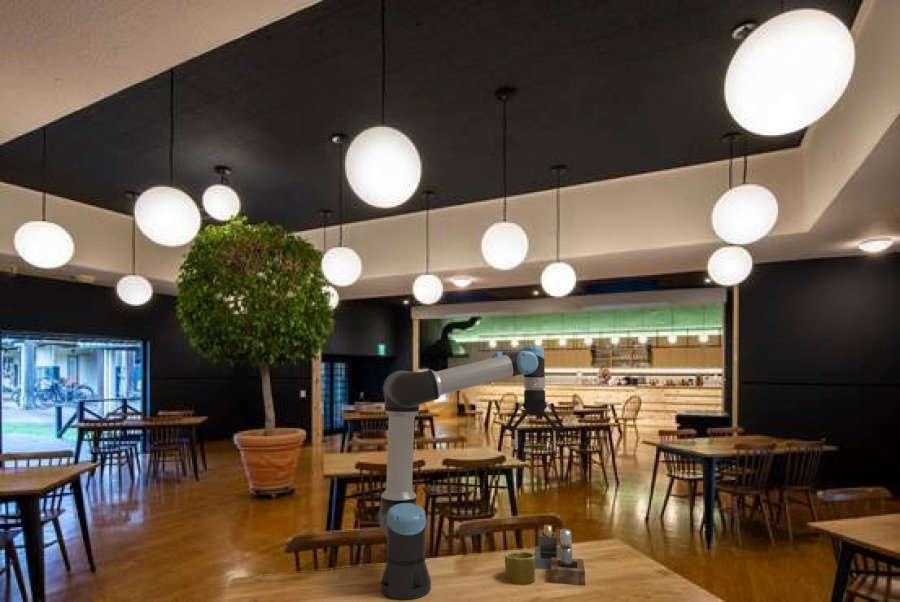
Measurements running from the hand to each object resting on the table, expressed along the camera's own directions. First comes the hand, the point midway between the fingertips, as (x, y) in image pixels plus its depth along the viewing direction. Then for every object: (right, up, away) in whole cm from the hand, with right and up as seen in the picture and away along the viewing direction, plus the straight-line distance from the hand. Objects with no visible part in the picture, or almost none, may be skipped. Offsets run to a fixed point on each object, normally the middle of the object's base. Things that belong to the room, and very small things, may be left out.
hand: (535, 449), depth 191 cm
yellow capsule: (+3, -31, -8) cm, 32 cm away
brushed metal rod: (+6, -33, -24) cm, 41 cm away
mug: (-8, -35, -23) cm, 43 cm away
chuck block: (+3, -36, -12) cm, 38 cm away
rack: (+6, -34, -24) cm, 42 cm away
